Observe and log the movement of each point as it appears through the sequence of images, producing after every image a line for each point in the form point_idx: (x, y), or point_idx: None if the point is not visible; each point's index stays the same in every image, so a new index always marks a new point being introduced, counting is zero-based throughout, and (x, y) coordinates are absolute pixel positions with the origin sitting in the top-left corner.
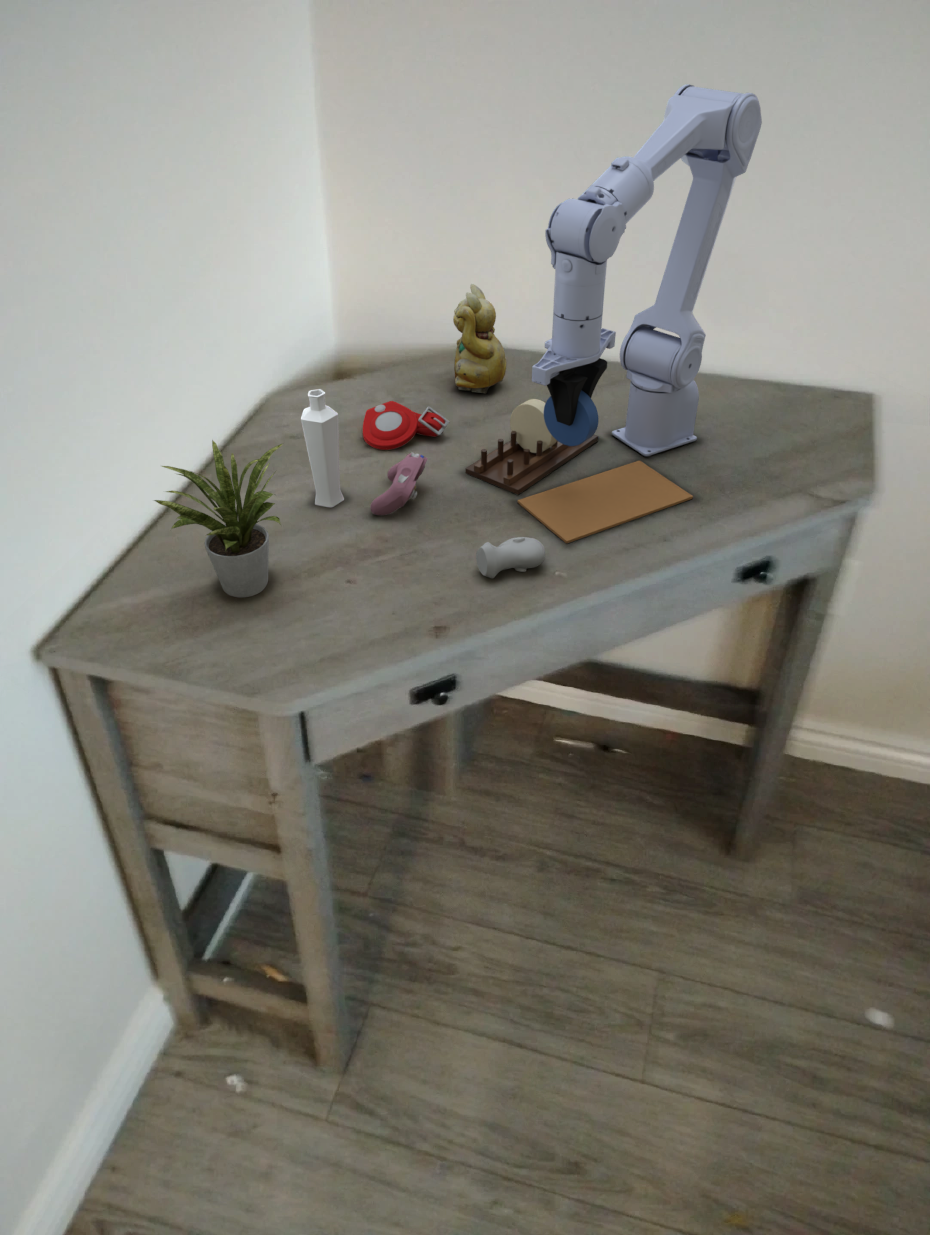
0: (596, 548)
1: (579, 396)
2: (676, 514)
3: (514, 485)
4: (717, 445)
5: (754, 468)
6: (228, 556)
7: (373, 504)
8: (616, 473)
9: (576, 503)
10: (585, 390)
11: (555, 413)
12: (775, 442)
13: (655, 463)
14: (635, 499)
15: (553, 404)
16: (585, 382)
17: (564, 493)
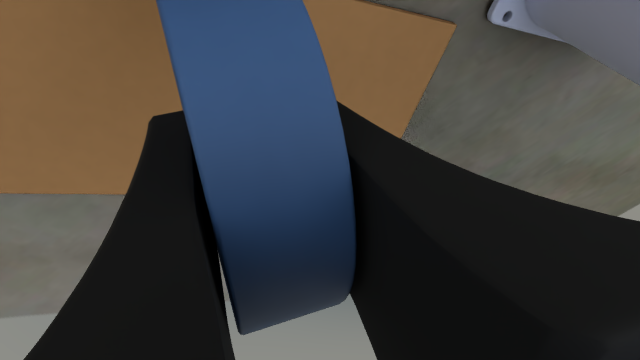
0: (43, 229)
1: (280, 318)
2: None
3: None
4: (587, 85)
5: (520, 176)
6: None
7: None
8: (362, 31)
9: (139, 72)
10: (363, 298)
11: (145, 144)
12: (619, 139)
13: (467, 51)
14: None
15: (131, 185)
16: (390, 348)
17: (148, 4)
